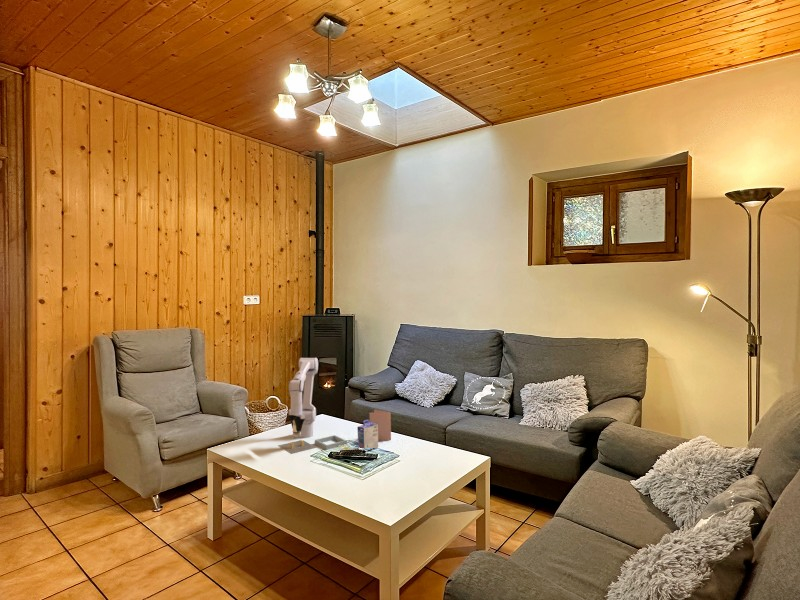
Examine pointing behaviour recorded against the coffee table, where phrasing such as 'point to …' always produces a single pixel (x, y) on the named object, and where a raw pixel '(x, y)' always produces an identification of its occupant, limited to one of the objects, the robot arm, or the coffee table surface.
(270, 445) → the coffee table surface
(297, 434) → the led light bulb
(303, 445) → the flat gray square panel
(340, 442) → the parts tray
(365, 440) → the ink cartridge box
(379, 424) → the greeting card
